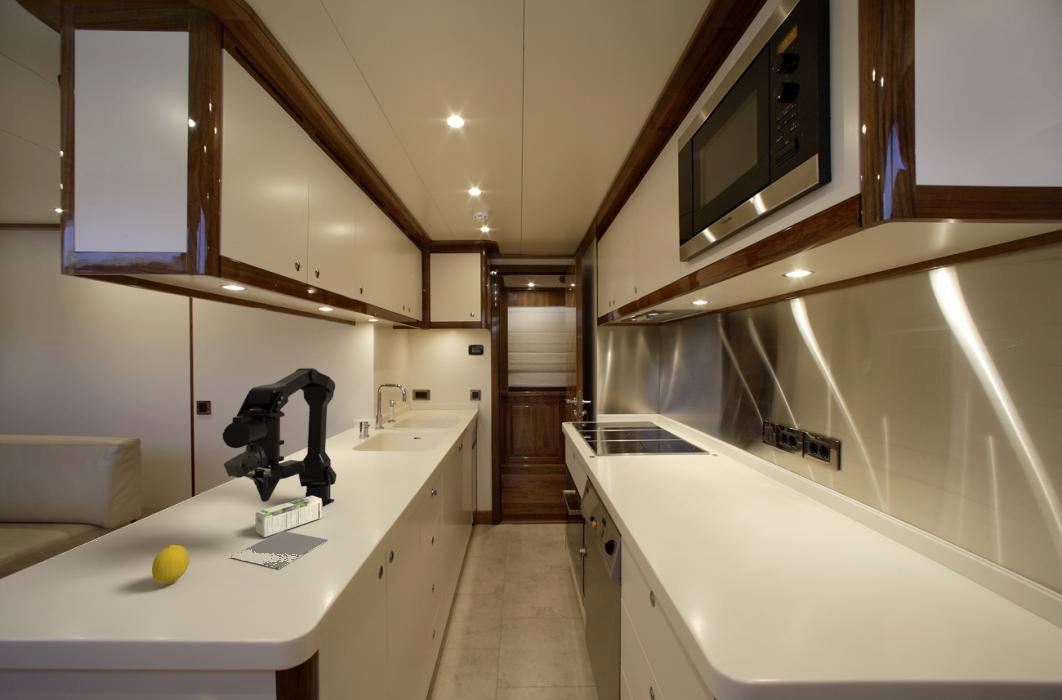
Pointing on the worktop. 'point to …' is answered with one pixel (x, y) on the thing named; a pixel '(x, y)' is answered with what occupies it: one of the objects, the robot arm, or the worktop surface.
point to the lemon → (170, 564)
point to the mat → (286, 546)
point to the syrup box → (288, 515)
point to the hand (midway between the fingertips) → (265, 501)
